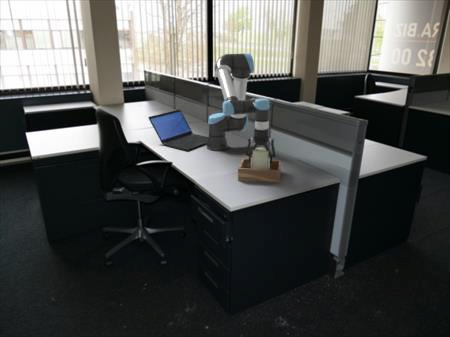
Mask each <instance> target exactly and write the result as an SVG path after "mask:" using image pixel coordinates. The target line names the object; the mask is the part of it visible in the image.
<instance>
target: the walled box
mask: <svg viewBox="0 0 450 337" xmlns="http://www.w3.org/2000/svg"><path fill="white" fill-rule="evenodd" d="M281 172H282V160H280V159H279V160H278V159H277V160H276V159H272V163H270V169H269V170H267V169H252V168H251V162H249V158H245V157H244V158H241V160H240V163H239V165H238V168H237V181H238V182H239V181H240V182H255V183H271V184H280V183H281Z"/></svg>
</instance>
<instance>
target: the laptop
mask: <svg viewBox="0 0 450 337" xmlns="http://www.w3.org/2000/svg"><path fill="white" fill-rule="evenodd" d="M148 121H149V122H150V123H151V125H152V127H153V130H154V131H155V133H156V135H157V137H158V138H159V140H160V142H161V144H162V145H164V146H165V147H170V148H174V149H176V150H177V149H178V150H182V151H186V152H189V151H192V150H193V149H197V148H199V147H202V146H206V145H207V142H208V138H209V136H205V135H201V134H196V133H193V131H192V129H191V127H190V125H189V123H188V122H187V120H186V117H185V116H184V114H183V112H182V111H181V109H177V110H173V111H168V112H164V113H163V112H162V113H159V114H156V115H155V114H154V115H151V116H148Z"/></svg>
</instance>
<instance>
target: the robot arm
mask: <svg viewBox="0 0 450 337" xmlns="http://www.w3.org/2000/svg"><path fill="white" fill-rule="evenodd" d="M254 71H255V62H254V58H253V56H252V54H250V53H245V52H244V53H224V54H223V55H221V56H220V57H219V58H218V59H217V61H216V62H215V65H214V74H215V76H216V77H217V78H218V82H219V85H220V89H221V93H222V96H223V100H224V101H222V112H217V113H212V114H211V115H209V116H208V137H209V138H208V142H207V144H206V149H207V150H210V151H225V150H228V148H229V143H228V139H227V137H226V136H227V135H226V134H227V133H236V132H238V133H240V132H245V131H247V128H248V126H249V116H248V115H254V122H253V123H254V125H253V126H254V127H253V128H254V131H253V132H254V133H253V134H254V135H253V137H248V140H247V141H248V144H247V148H246V152H245V156H246V157H248V159H249V162H251V168H252V156H253V151H252V150H255V148H258V147H257V146H261V147H263V146H264V148H266V150H267V151H269V159H268V169H270V163H272V160H273V158H276V156H277V154H276V148H275V143H274V142H275V138H270V137H269V127H270V126H269V125H270V108H271V106H270V100H269V99H268V98H251V99H246V95H247V86H248V79H249V78H251V74H253V73H255V72H254ZM252 142H255V143H254V145H253V147H252V149H251V150H250V148H251V144H252ZM268 142H269V143H270V146H271V148H269V145H268ZM270 149H271V150H270Z"/></svg>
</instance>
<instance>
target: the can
mask: <svg viewBox="0 0 450 337" xmlns="http://www.w3.org/2000/svg"><path fill="white" fill-rule="evenodd" d="M251 150H252V149H251ZM252 151H253V154H252V155H251V156H252V169H267V170H269V169H268V159H269V157H270V156H269V151H267V150H266V148H265V147H263V146H261V147H256V148H255V150H252Z"/></svg>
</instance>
